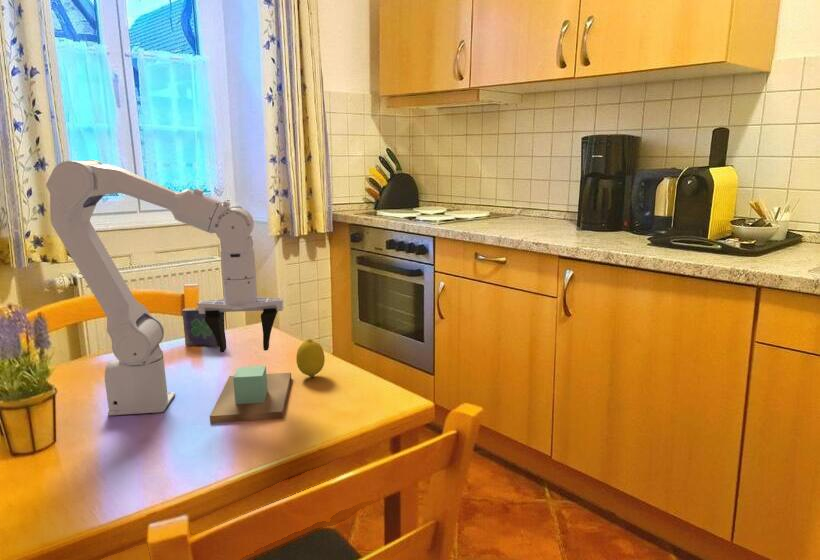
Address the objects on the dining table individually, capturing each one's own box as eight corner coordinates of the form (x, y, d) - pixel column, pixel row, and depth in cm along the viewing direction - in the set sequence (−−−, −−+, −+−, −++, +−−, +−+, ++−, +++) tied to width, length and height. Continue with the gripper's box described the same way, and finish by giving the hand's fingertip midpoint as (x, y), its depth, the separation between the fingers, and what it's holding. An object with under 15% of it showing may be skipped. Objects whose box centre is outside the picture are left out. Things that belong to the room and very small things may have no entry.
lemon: (319, 383, 116) (317, 344, 114) (293, 381, 117) (290, 343, 115) (329, 373, 121) (327, 335, 119) (303, 371, 122) (301, 334, 120)
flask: (183, 347, 139) (179, 302, 136) (189, 343, 142) (185, 299, 139) (221, 347, 138) (217, 303, 135) (226, 343, 141) (222, 300, 138)
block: (235, 404, 104) (233, 377, 103) (239, 392, 109) (237, 367, 108) (264, 402, 105) (262, 375, 104) (267, 391, 109) (265, 365, 108)
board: (210, 422, 100) (209, 416, 100) (229, 381, 117) (229, 376, 117) (282, 418, 101) (282, 411, 101) (291, 378, 119) (291, 372, 118)
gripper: (191, 282, 100) (198, 358, 103) (278, 280, 101) (282, 355, 104) (201, 274, 107) (208, 345, 110) (282, 271, 108) (287, 342, 111)
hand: (244, 349), depth 108 cm, fingers open, 7 cm apart
